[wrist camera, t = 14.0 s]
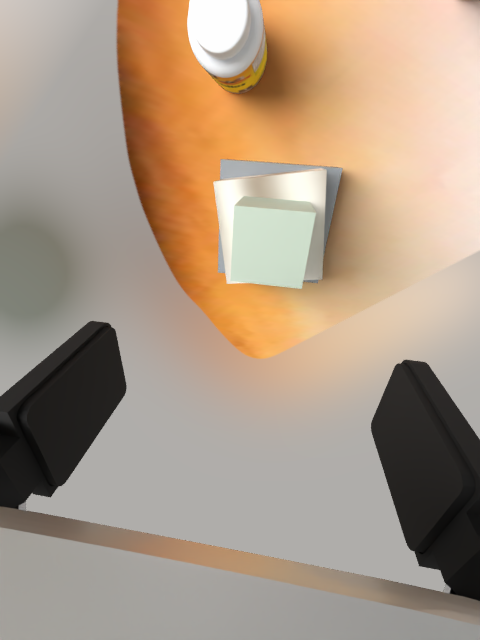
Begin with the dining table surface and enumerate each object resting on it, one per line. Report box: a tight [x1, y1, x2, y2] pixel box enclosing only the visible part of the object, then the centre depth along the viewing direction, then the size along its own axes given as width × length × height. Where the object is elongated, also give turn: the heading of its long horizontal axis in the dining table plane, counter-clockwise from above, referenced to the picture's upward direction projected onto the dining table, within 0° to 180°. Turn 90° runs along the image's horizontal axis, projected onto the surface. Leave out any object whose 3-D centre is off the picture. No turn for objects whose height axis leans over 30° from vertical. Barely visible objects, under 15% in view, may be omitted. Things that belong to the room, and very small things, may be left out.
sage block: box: [230, 196, 316, 289], centre depth 25 cm, size 6×6×6 cm
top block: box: [214, 168, 327, 284], centre depth 29 cm, size 10×10×4 cm
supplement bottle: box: [188, 0, 268, 94], centre depth 23 cm, size 6×6×10 cm
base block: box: [218, 159, 343, 283], centre depth 33 cm, size 12×12×4 cm
